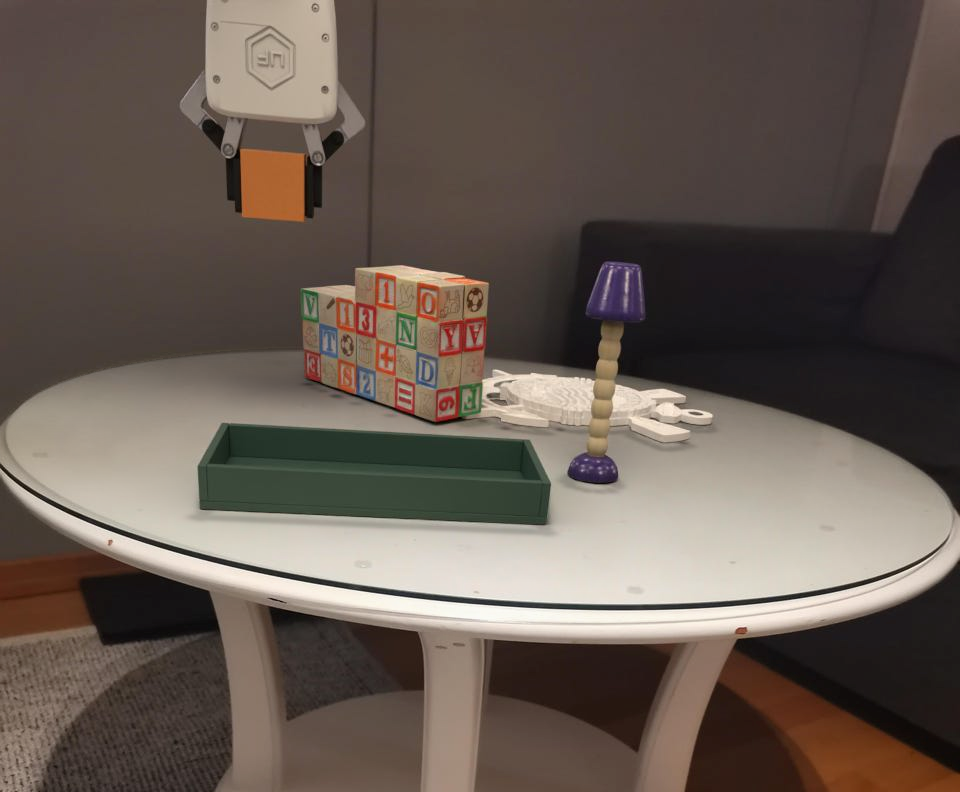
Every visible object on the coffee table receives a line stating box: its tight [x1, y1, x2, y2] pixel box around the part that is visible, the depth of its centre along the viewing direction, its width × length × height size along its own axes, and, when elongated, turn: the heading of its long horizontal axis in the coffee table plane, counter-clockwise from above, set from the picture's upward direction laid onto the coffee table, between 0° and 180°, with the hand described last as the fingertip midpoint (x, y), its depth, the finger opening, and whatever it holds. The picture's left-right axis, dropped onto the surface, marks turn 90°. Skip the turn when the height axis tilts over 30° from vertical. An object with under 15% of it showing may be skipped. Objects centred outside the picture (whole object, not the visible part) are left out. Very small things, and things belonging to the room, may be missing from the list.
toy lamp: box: [567, 261, 646, 484], centre depth 78 cm, size 5×5×17 cm
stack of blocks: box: [300, 264, 490, 423], centre depth 97 cm, size 21×6×12 cm, turn 44°
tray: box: [197, 422, 552, 525], centre depth 72 cm, size 24×11×3 cm, turn 95°
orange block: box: [240, 148, 308, 223], centre depth 81 cm, size 5×5×5 cm
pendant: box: [460, 369, 714, 444], centre depth 103 cm, size 21×28×1 cm
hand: (275, 211), depth 82 cm, fingers closed on orange block, 5 cm apart
